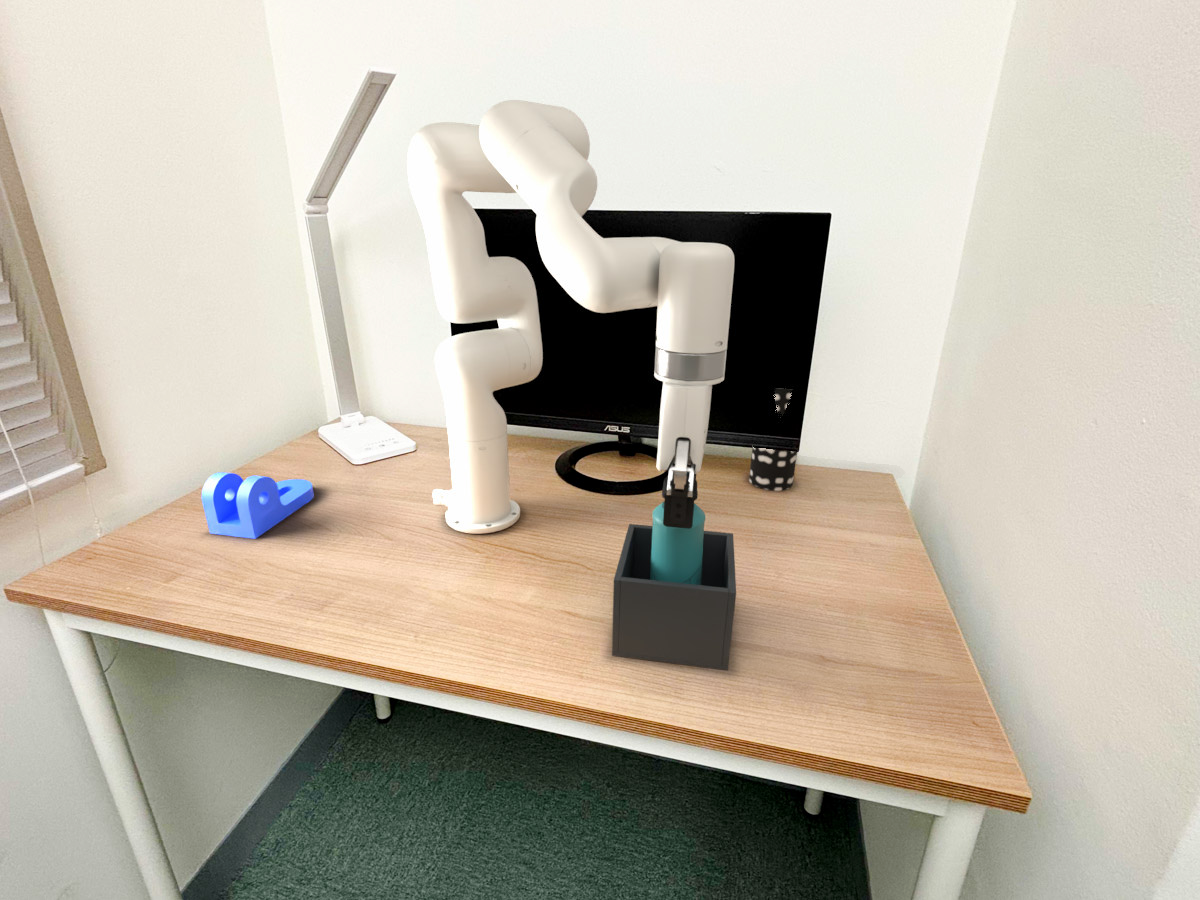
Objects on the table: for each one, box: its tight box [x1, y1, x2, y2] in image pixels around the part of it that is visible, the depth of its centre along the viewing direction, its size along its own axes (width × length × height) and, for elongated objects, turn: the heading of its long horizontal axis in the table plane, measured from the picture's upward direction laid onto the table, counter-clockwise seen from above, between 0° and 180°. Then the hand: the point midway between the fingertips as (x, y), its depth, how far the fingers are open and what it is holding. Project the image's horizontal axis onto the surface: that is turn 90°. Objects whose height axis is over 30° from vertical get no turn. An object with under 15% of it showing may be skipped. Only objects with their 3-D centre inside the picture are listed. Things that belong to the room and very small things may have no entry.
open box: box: [611, 523, 737, 671], centre depth 77 cm, size 14×14×11 cm
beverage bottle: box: [649, 475, 706, 585], centre depth 75 cm, size 6×7×20 cm
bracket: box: [201, 471, 315, 540], centre depth 106 cm, size 18×8×9 cm, turn 169°
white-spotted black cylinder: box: [748, 388, 798, 492], centre depth 117 cm, size 8×8×20 cm
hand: (680, 506), depth 72 cm, fingers open, 9 cm apart
